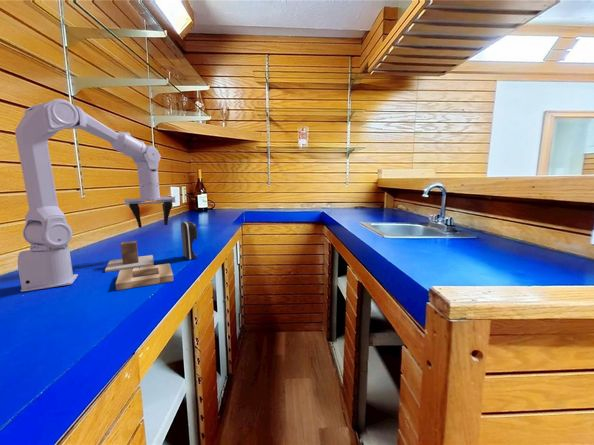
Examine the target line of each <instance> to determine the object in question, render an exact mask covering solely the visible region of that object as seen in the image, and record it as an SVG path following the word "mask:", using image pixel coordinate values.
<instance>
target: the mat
mask: <svg viewBox="0 0 594 445" xmlns="http://www.w3.org/2000/svg"><path fill="white" fill-rule="evenodd" d="M138 260H139V263H132V264H125V265H123V260H122V258H117V259H116V258H115V259H110V260H109V261H108V263H107V266H106V267H105V269H104V272H105V273H111V272H118V271H120V270H126V269H132V268H139V267H147V266H154V256H153V254H150V255H143V256H142V255H141V256H138Z"/></svg>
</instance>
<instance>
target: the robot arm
mask: <svg viewBox="0 0 594 445" xmlns="http://www.w3.org/2000/svg"><path fill="white" fill-rule="evenodd" d="M62 130H82V131H84V132H87V133H89V134H90V135H93V136H96V137H98V138H99V139H102V140H104V141H106V142H109V143H110V145H111V148H112V149H114V150H115V151H116V152H119V153H121V154H123V155H125V156H127V157H129V158H131V159H132V161H133V162H134V164H136V166H137V177H138V187H139V196H140V197H139V198H126V199H125V198H124V206H128V207H129V208H130V209H129V210H130V211H131V213H133V216H134V217H135V220H136V222H137V226H138V228H140V229H142V227H143V226H142V222H141V212H140V207H139V206H141V205H152V204H153V205H154V204H156V205H157V204H161V206H162V211H163V225H164V226H169V225H168V224H169V223H168V222H169V218H170V217H169V216H170V214H171V210H172V208H173V204H175V203H176V197H175V196H161V194H160V193H161V192H160V181H159V172H158V171H159V170H158V168H159V163H160V161H161V157H162V156H161V154H160V153H159V151H158V149H157V148H156V147H155V146H154V145H147V144H145V142H144V141H143V140H139V139H137V138H135V137H133V136H131V133H130V132H128V131H118V132H117V131H115V130H113V129H112V128H110V127H108V126H107V125H105V124H103V123H102V122H100V121H98V120H97V119H96V118H95V117H93V116H91V115H89V114H88V113H87V112H85V111H84V110H83V109H82V108H81V107H80V106H78V105H75V104H72V103H71V102H70V101H68V100H66V99H64V98H63V99H62V98H55V99H51V100H50V101H47V102H41V103H37V104H34V105H32V106H31V107H29V108H26V109H25V110H24V114H23V116H22V118H21V119H20V121H19V123H18V124H17V126H16V128H15V129H14V131H15V132H14V133H15V134H14V135H15V140H16V146H17V150H18V154H19V161H20V166H21V167H20V168H21V171H22V172H21V173H22V177H23V183H24V188H25V194H26V199H27V203H28V211H27V213H26V214H25V216H24V219H25V220H24V221H25V223H24V224H25V225H24V227H23V230H22V236H23V239H24V240H25V241H26V242H27V243H28V244H30V246H29V250H22V251H20V252H19V253H18V255H17V269H18V276H19V281H20V287H21V289H20V292H22V293H23V292H28V291H35V290H42V289H49V288H55V287H57V288H58V287H62V286H69V285H72V284H73V283H74V282H75V280H76V279H77V278H78V277H79V274H78V273H75V274H74V272H73V266H72V260H71V254H70V253H71V252H70V251H71V250H70V246H69V245H70V244H69V243H70V241H71V240H72V239H73V229H72V227H71V226H70V225H69V224H68V222H67V219H66V218H67V217H66V215H65V214H64V212H63V211H62V209H61V208H59V204H58V203H59V202H58V197H57V191H56V186H55V178H54V174H53V173H54V172H53V168H52V166H53V165H52V162H51V155H50V151H49V150H50V149H49V145H48V144H49V143H48V140H50V139H51V138H52V137H53V136H54V135H56V134H58V132H60V131H62Z"/></svg>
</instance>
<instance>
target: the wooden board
mask: <svg viewBox="0 0 594 445" xmlns="http://www.w3.org/2000/svg"><path fill="white" fill-rule="evenodd" d="M118 271H119V272H118V274H117V278H116V281H115V291H122V290H127V289H134V288H138V287H139V288H140V287H147V286H150V285H156V284H157V285H158V284H163V283H169V282H174V274H173V273H174V272H173V270H172V267H171V263H163V264H156V265H154V266H147V267H140V268H133V269H125V270H118Z"/></svg>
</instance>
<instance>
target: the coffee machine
mask: <svg viewBox="0 0 594 445" xmlns="http://www.w3.org/2000/svg"><path fill="white" fill-rule="evenodd" d="M180 230H181V231H180V232H181V234H180V235H181V242H182V243H181V244H182V254H183V256H184V258H186V259H187V260H194V259H197V257H198V254H196V253H194V251H193V243H194V241H195V240H198V238H199V236H198V229H197V225H196V224H195V223H194V222H192V221H182V222H181V223H180Z"/></svg>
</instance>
